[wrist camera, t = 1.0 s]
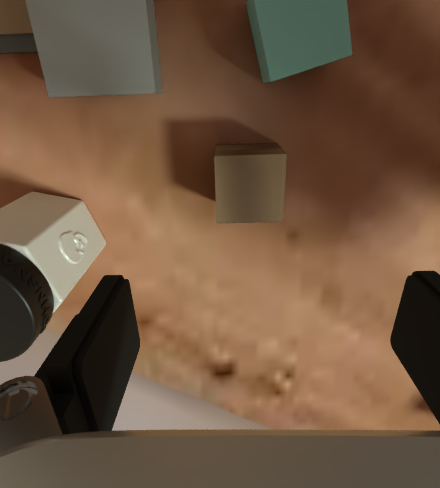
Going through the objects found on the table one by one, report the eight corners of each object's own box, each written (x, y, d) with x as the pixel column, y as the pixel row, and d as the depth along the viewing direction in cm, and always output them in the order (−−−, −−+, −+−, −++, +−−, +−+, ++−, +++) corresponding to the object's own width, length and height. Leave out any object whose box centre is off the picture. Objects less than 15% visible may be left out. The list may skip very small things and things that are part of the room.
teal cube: (317, -21, 21) (341, -49, 17) (328, 60, 24) (352, 54, 19) (246, 6, 22) (251, -15, 18) (262, 82, 24) (270, 82, 20)
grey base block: (151, -22, 22) (141, -44, 18) (162, 92, 25) (155, 93, 21) (47, -19, 21) (15, -41, 18) (71, 95, 24) (48, 97, 21)
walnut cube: (276, 142, 26) (287, 153, 22) (273, 200, 28) (282, 221, 24) (216, 144, 26) (214, 156, 22) (217, 202, 29) (216, 223, 24)
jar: (120, 261, 31) (64, 352, 21) (49, 283, 33) (-38, 379, 22) (73, 176, 28) (-25, 232, 17) (-5, 204, 29) (-142, 274, 18)
